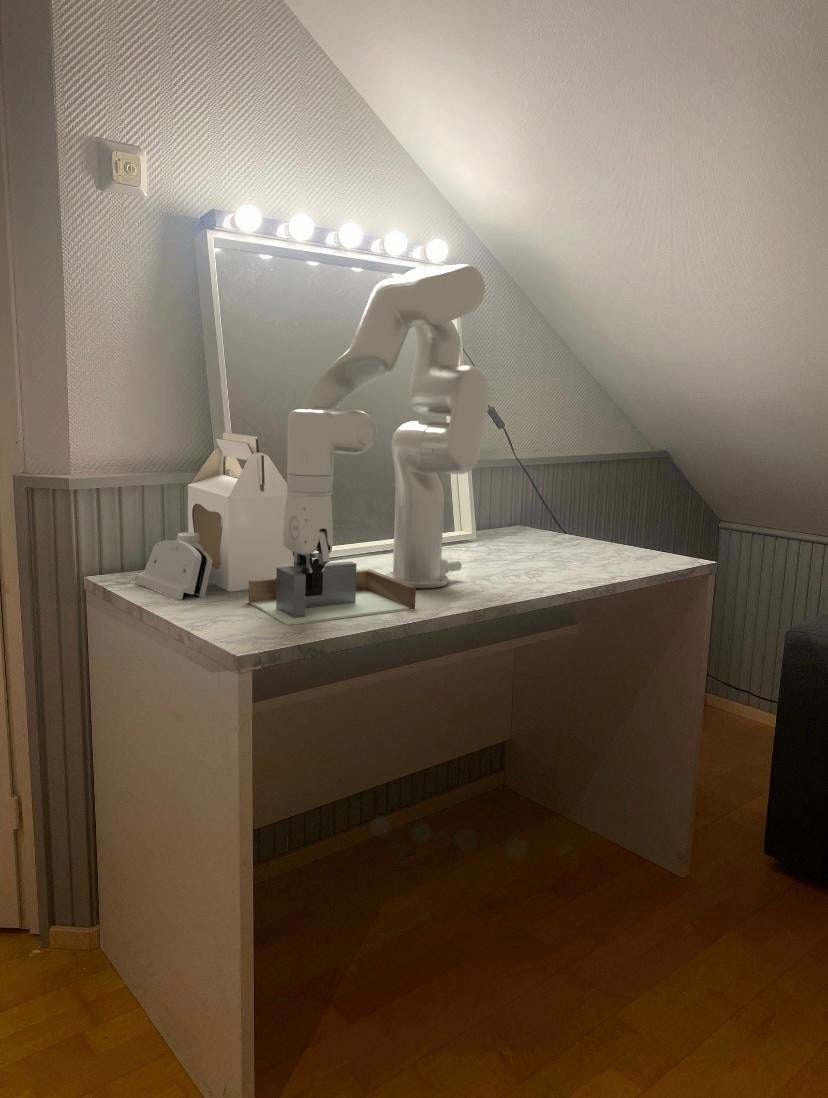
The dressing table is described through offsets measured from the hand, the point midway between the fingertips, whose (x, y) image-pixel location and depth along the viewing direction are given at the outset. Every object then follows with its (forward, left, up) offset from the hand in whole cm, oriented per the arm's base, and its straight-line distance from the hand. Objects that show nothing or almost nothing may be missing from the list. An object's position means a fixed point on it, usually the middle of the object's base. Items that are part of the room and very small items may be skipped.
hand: (308, 592), depth 142 cm
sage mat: (-4, +1, -3) cm, 5 cm away
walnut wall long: (-4, -7, -3) cm, 9 cm away
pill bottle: (+11, -30, -3) cm, 32 cm away
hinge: (+15, -23, -3) cm, 28 cm away
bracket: (-2, +3, -3) cm, 4 cm away
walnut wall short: (-16, +1, -3) cm, 16 cm away
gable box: (+1, -28, -3) cm, 28 cm away
